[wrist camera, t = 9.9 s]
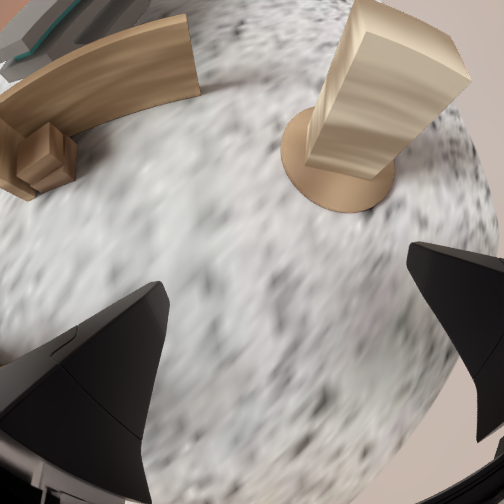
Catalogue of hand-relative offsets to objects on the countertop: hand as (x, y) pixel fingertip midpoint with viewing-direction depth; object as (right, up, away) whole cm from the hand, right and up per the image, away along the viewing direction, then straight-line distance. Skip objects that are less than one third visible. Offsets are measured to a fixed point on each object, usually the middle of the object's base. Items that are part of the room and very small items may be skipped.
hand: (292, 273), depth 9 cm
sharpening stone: (-19, +27, +12) cm, 35 cm away
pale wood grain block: (+5, +8, +9) cm, 13 cm away
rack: (-14, +10, +10) cm, 19 cm away
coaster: (+5, +8, +10) cm, 14 cm away
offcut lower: (-18, +8, +10) cm, 22 cm away
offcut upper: (-18, +8, +7) cm, 21 cm away
